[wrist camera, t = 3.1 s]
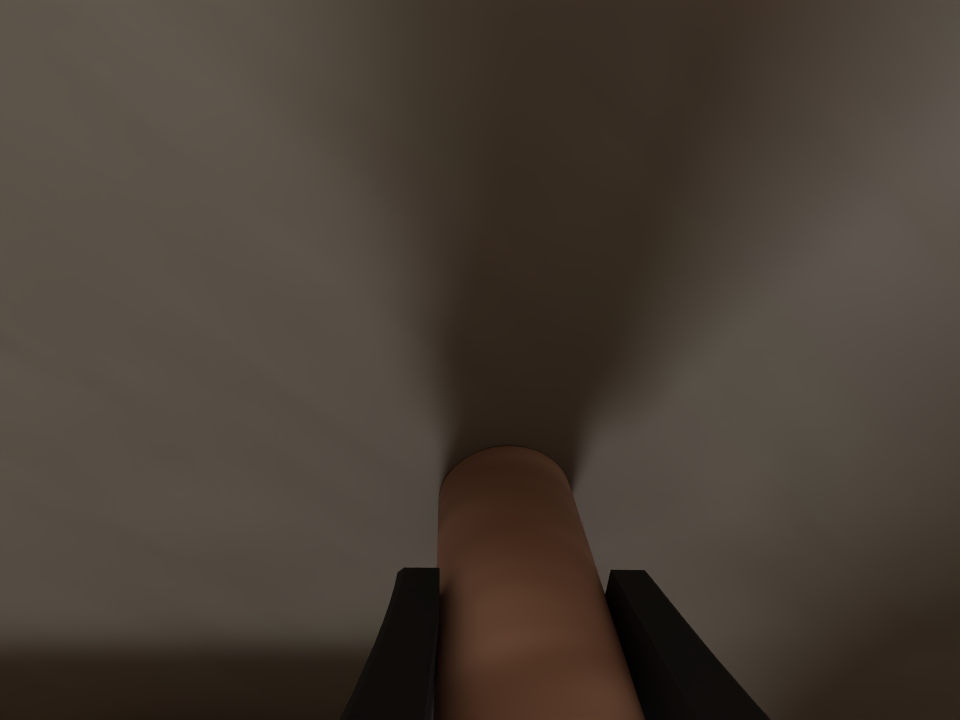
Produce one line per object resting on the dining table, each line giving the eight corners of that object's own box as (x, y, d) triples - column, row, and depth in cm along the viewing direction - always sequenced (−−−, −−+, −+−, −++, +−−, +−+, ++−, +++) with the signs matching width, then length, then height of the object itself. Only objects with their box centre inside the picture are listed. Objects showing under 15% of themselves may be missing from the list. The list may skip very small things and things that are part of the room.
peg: (579, 447, 12) (951, 1404, 3) (561, 552, 13) (787, 1439, 4) (441, 444, 11) (418, 1465, 3) (436, 550, 13) (409, 1483, 4)
